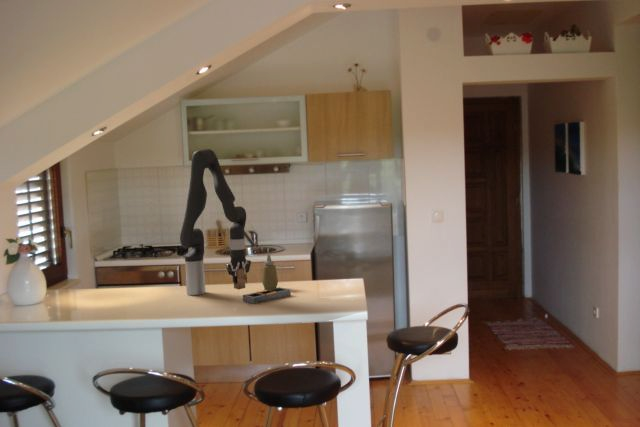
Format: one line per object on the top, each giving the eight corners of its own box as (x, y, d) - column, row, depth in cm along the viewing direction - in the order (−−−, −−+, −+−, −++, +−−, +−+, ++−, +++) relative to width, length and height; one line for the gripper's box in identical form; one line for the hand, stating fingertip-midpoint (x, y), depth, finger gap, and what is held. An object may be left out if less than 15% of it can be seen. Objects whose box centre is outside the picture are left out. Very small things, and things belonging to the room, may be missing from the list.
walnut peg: (233, 288, 343) (232, 268, 342) (240, 286, 346) (239, 266, 345) (238, 289, 340) (237, 269, 339) (245, 287, 343) (244, 267, 342)
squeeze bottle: (281, 288, 362) (279, 253, 360) (272, 291, 356) (270, 256, 354) (268, 287, 367) (267, 252, 365) (259, 290, 360) (257, 255, 358)
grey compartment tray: (242, 301, 336) (242, 294, 336) (279, 293, 350) (279, 286, 350) (253, 304, 329) (253, 297, 329) (290, 295, 344) (290, 289, 343)
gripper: (245, 245, 348) (246, 279, 350) (221, 249, 339) (222, 284, 341) (254, 246, 343) (255, 281, 345) (229, 250, 333) (231, 286, 335)
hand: (239, 282), depth 343 cm, fingers closed on walnut peg, 4 cm apart
